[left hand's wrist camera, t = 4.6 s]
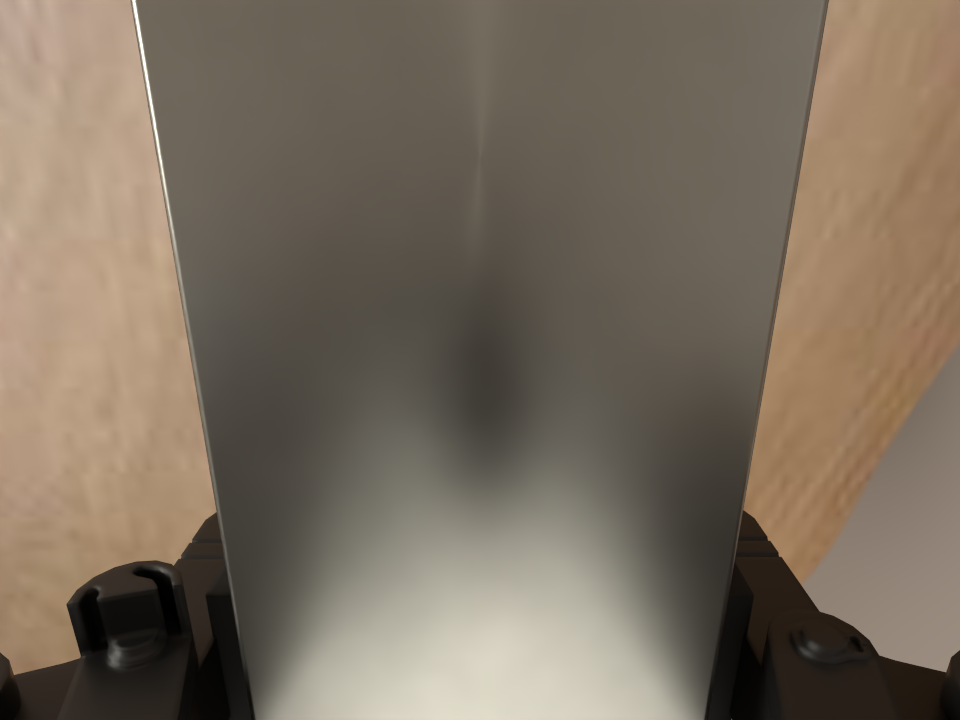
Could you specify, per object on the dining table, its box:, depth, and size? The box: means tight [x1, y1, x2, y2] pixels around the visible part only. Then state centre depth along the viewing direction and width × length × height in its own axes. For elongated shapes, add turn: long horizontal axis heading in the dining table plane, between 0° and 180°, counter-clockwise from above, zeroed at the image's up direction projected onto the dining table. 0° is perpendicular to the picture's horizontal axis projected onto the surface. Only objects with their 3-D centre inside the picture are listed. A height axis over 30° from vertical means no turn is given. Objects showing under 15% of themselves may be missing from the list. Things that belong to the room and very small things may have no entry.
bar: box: [131, 0, 829, 720], centre depth 9 cm, size 21×6×8 cm, turn 0°
